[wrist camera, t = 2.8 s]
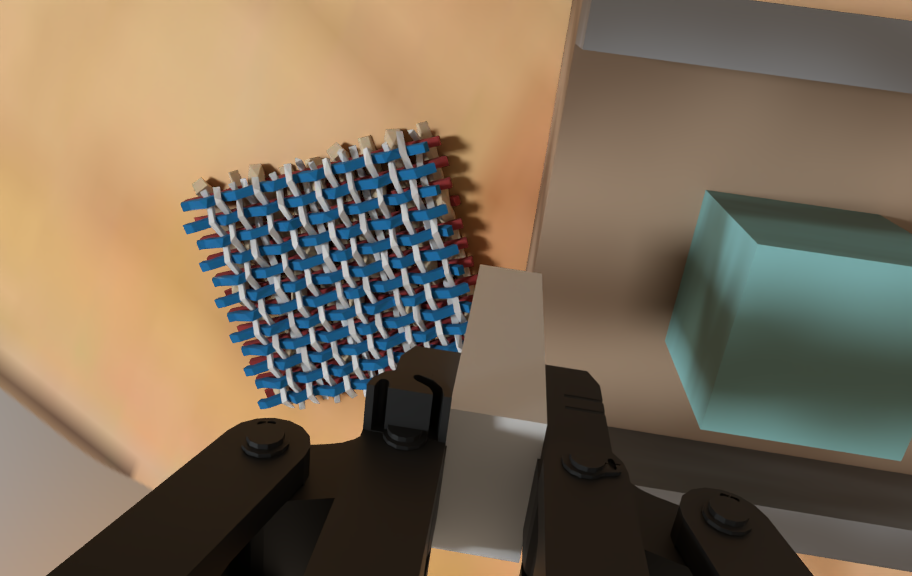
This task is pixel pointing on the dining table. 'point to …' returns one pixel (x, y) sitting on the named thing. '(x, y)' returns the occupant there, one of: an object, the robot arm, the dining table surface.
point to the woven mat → (398, 307)
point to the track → (675, 217)
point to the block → (797, 325)
